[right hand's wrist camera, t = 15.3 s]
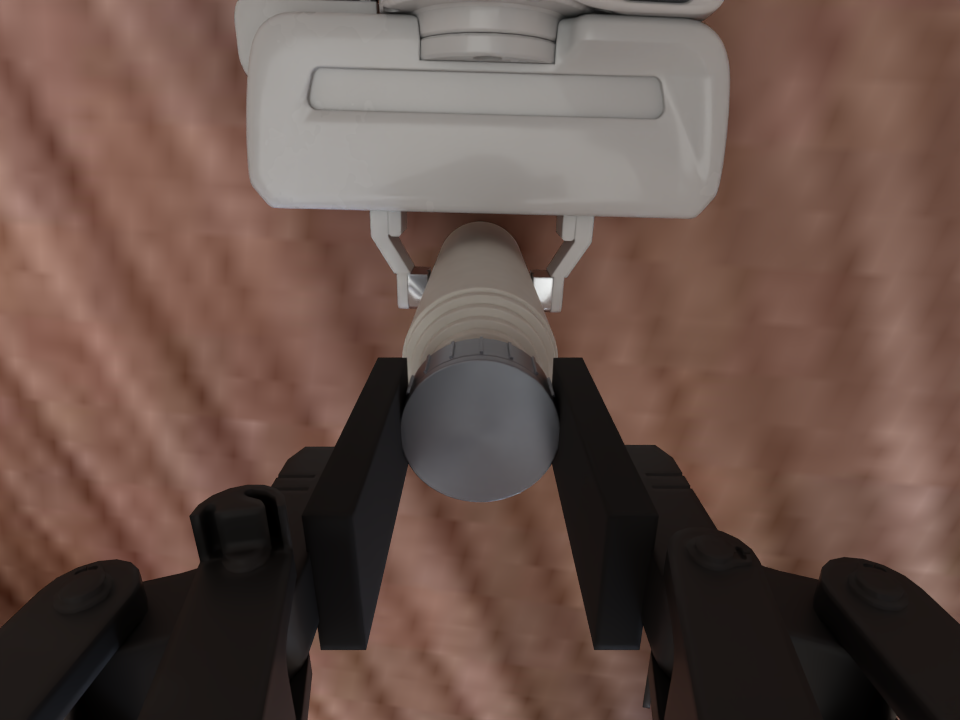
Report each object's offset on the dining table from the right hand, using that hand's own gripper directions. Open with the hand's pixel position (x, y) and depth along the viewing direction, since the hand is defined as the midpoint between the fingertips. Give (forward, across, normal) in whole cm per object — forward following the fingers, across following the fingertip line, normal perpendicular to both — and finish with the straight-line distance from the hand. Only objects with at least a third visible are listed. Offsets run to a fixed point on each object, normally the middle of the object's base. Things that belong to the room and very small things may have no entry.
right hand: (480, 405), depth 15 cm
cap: (-1, 0, 0) cm, 1 cm away
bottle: (+19, 0, 0) cm, 19 cm away
